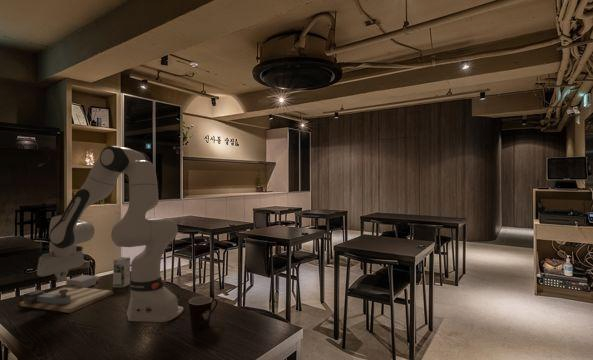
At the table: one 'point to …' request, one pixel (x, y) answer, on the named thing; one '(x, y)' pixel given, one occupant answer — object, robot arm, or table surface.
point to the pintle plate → (75, 299)
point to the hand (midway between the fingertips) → (61, 281)
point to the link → (53, 299)
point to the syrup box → (121, 272)
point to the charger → (82, 281)
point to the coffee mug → (200, 312)
